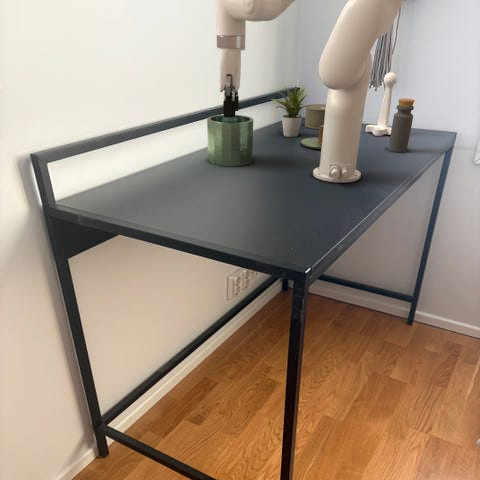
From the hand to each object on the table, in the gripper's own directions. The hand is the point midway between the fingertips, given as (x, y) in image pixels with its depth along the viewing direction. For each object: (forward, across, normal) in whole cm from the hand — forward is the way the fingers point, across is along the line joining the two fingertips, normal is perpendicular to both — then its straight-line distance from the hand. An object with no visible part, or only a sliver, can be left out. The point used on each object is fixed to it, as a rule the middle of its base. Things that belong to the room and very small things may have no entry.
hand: (231, 113), depth 137 cm
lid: (+12, -22, +28) cm, 38 cm away
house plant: (+13, -38, +18) cm, 44 cm away
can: (+13, -54, +29) cm, 63 cm away
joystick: (+13, -43, +50) cm, 67 cm away
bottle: (+13, -20, +52) cm, 57 cm away
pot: (+13, 0, 0) cm, 13 cm away
